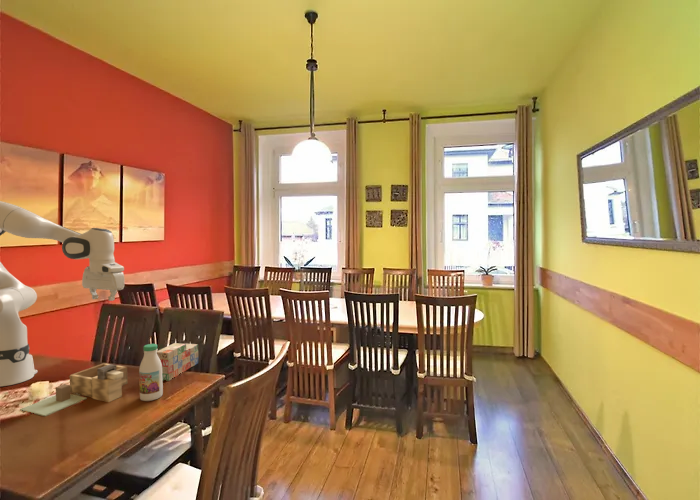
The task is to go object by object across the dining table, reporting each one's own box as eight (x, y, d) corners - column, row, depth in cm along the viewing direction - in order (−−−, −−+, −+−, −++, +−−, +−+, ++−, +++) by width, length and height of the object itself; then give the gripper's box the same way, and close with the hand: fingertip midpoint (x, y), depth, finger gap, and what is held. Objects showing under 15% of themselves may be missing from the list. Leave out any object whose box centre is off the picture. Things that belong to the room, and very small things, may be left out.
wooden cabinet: (68, 393, 142) (67, 363, 141) (104, 379, 156) (103, 351, 155) (108, 402, 135) (108, 370, 134) (143, 386, 149) (142, 357, 148)
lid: (20, 411, 129) (19, 395, 128) (62, 395, 142) (62, 379, 142) (45, 418, 124) (44, 400, 124) (86, 400, 138) (86, 384, 137)
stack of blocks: (187, 362, 176) (186, 337, 176) (198, 363, 175) (198, 337, 175) (155, 380, 155) (155, 351, 155) (168, 381, 154) (168, 352, 154)
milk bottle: (146, 392, 143) (145, 342, 142) (166, 392, 143) (165, 342, 142) (135, 401, 136) (134, 348, 135) (156, 401, 136) (155, 348, 135)
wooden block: (98, 376, 138) (98, 371, 138) (105, 374, 140) (105, 368, 140) (116, 380, 135) (116, 374, 135) (123, 377, 138) (123, 372, 137)
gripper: (77, 266, 154) (78, 299, 154) (113, 268, 147) (113, 302, 148) (92, 265, 160) (93, 296, 160) (127, 267, 153) (127, 300, 154)
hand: (103, 299), depth 154 cm, fingers open, 8 cm apart
